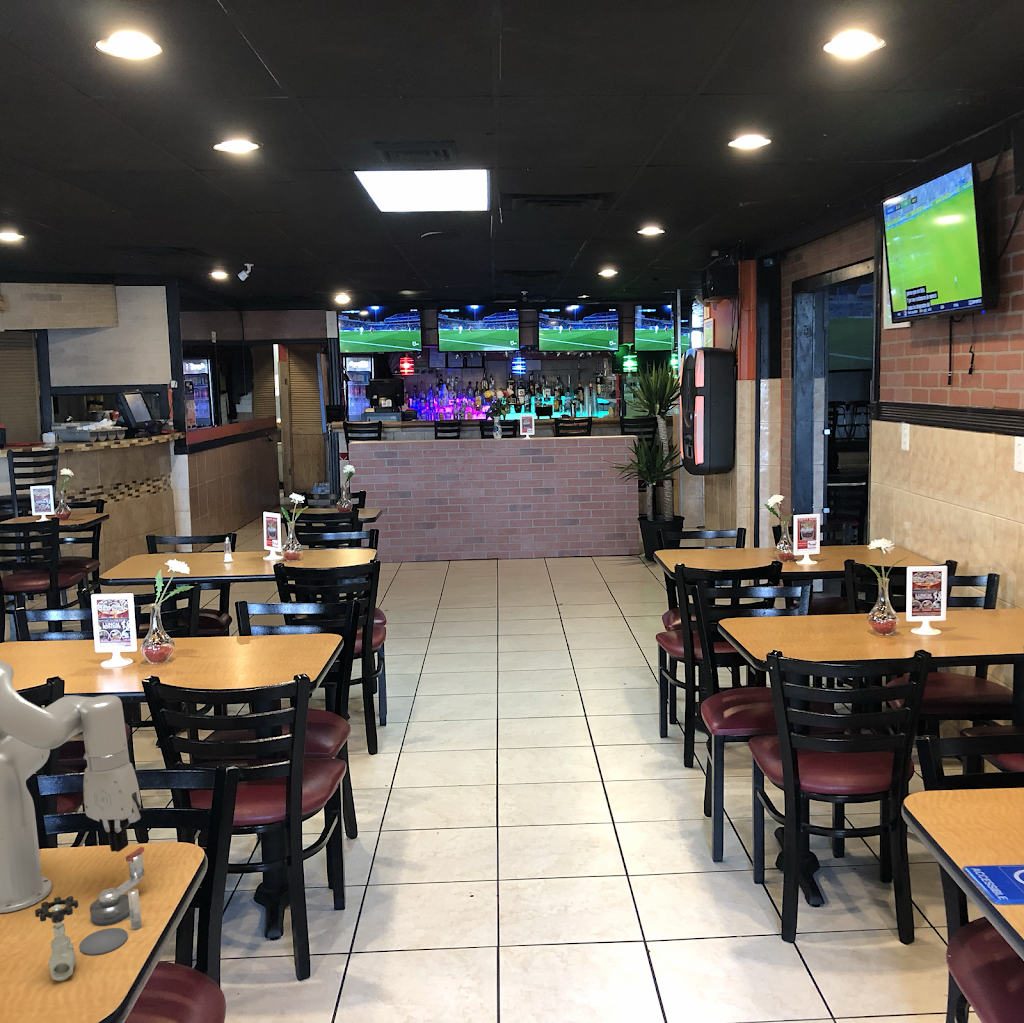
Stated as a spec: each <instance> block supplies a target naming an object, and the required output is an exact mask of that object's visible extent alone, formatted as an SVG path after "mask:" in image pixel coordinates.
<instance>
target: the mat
mask: <svg viewBox="0 0 1024 1023" xmlns="http://www.w3.org/2000/svg"><path fill="white" fill-rule="evenodd" d="M128 939H129V935H128V932H127V931H126V930H125V929H123V928H120V927H109V928H103V929H101V930H98V931H95V932H93V933H90V934H89V935H87V936H86V937H84V938H83V939H82V940H81V942H80V943H79V945H78V946H79V947H78V950H79V952H81V954H83V955H86V956H101V955H104V954H108V953H111V952H113V951H116V950H117V949H119V948H120V947H122V946H123V945H124V944H125V943H126V942H127V941H128Z"/></svg>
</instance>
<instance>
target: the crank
mask: <svg viewBox="0 0 1024 1023" xmlns="http://www.w3.org/2000/svg"><path fill="white" fill-rule="evenodd" d="M144 852H145V846H140V847H139V848H137V849H135V850H134V851H132V852H131V853H130V854H129V855H127V856H125V862H128V868H129V879H127V880H126V881H124V882H123V883H122V884H120V885H118V887H110V888H109V887H108V888H105V889H103V890H101V891H100V892H99V893H98V899H99V905H100V906H102V907H108V906H112V905H115V904H117V903H118V902H119V901H120V896H121V895H123V894H125V893H128V891H129V890H132V889H133V887H134V886H136V885H137V884H139V883H140V882H141V881H142V878H143V877H144V876H145V869H144V858H143V857H144V856H143V853H144Z"/></svg>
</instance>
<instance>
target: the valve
mask: <svg viewBox="0 0 1024 1023" xmlns="http://www.w3.org/2000/svg"><path fill="white" fill-rule="evenodd" d="M64 905H65V907H63V906H64ZM73 907H74V909H77V908H79V907H80V906H79V900H76V899H75V900H74V896H72V895H70V896H67V897H66V898H65V899H62V897H61V896H56V897H54V899H53V901H51V902H49V901H43V902H42V903H41V904H40V907H39V908H36V909H35V910H34V915H35V917H36V918H39V921H40V922H46V921H47V919H51V923H53V924H55V925H53V927H52V931H53V936H54V938H53V939H52V940H51V942H50V949H51V955H50V956H49V959H48V968H49V972H50V978H51V979H52V980H54V981H59V982H64V981H65V980H67V979H69V977H70V976H71V975H73V974H74V966H75V965H76V961H77V956H76V953H75V950H74V949H75V947H74V943H73V942H71V937H70V936H69V935H66V934H65V933H66V927H65V923H63V921H64V920H65V916H72V915H73V914H74V909H73ZM49 909H51V911H50V910H49Z"/></svg>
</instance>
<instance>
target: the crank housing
mask: <svg viewBox="0 0 1024 1023" xmlns="http://www.w3.org/2000/svg"><path fill="white" fill-rule="evenodd" d="M140 904H141V903H140V894H139V889H138V888H131V889H129V890H128V891H127V894H125V893H124V894H123V895H121V896H120V901H119V902H118V903H117V904H115V905H112V906H108V907H102V906H100V905H99V898H98V899H96V900H94V901H93V902H92V903H91V904H90V906H89V914H90V922H91V924H92V925H94V926H98V927H104V926H105V927H106V926H111V925H114V924H115V925H116V924H118V923H120V922H122V921H124V920H129V922H130V930H131V931H135V930H140V929H141V928H142V914H141V905H140Z"/></svg>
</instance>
